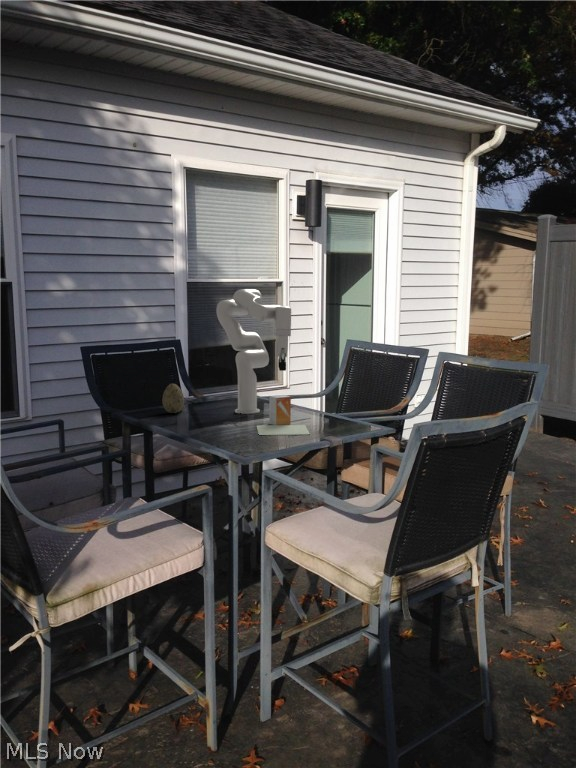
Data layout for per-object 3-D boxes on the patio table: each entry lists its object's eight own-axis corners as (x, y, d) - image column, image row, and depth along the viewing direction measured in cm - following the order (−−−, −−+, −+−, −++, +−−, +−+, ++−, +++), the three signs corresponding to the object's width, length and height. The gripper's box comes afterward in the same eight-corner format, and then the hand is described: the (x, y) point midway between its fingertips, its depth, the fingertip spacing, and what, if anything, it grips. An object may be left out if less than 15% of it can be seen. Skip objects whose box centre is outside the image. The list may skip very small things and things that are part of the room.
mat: (256, 426, 308) (256, 425, 308) (304, 425, 310) (304, 424, 310) (258, 435, 288) (258, 434, 288) (310, 434, 290) (310, 433, 290)
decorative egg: (162, 411, 344) (161, 382, 342) (183, 411, 346) (183, 382, 344) (162, 415, 333) (162, 385, 331) (184, 414, 335) (184, 384, 333)
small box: (276, 426, 309) (276, 397, 307) (268, 423, 314) (268, 396, 312) (291, 424, 313) (291, 396, 312) (283, 422, 319) (283, 394, 317)
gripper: (274, 331, 325) (273, 366, 327) (275, 334, 308) (274, 371, 310) (289, 331, 325) (289, 366, 328) (291, 334, 308) (291, 371, 311)
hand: (282, 369), depth 319 cm, fingers open, 9 cm apart
